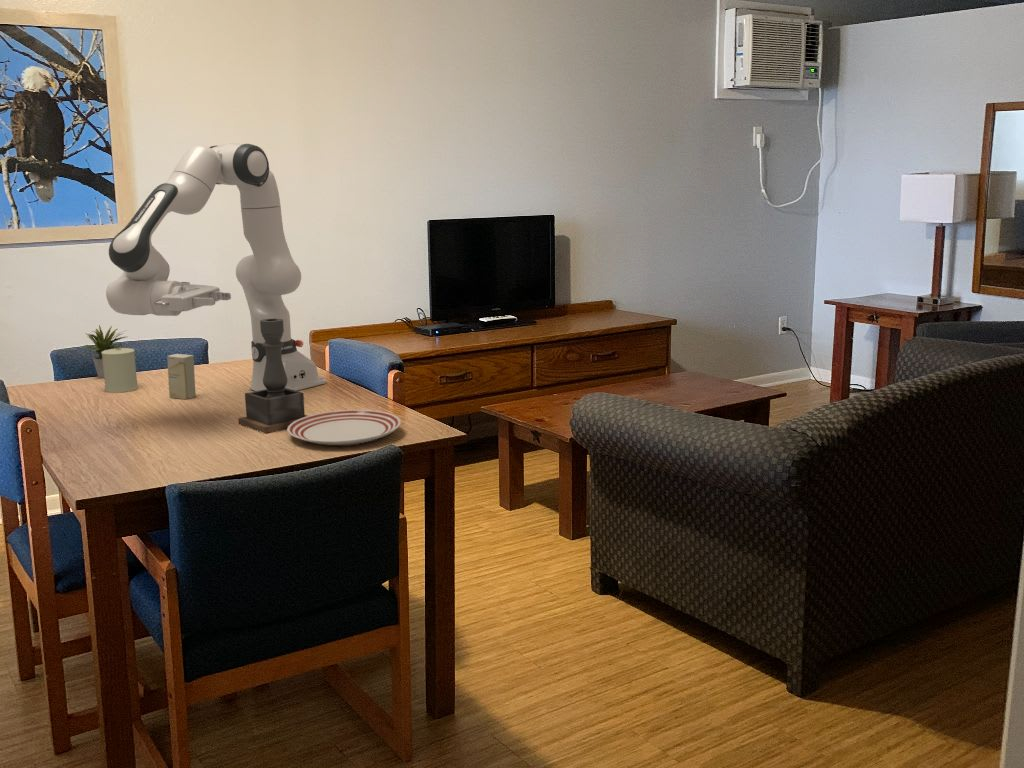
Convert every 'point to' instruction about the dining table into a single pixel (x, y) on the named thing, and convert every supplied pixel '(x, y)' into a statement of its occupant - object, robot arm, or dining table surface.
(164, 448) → the dining table surface
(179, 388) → the skincare box
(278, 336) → the candle holder
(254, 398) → the dark square box
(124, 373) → the can
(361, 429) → the dinner plate
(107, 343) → the house plant
